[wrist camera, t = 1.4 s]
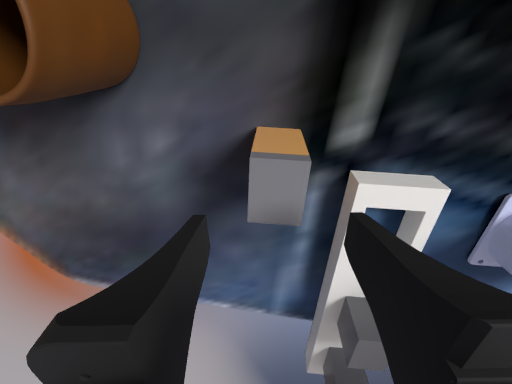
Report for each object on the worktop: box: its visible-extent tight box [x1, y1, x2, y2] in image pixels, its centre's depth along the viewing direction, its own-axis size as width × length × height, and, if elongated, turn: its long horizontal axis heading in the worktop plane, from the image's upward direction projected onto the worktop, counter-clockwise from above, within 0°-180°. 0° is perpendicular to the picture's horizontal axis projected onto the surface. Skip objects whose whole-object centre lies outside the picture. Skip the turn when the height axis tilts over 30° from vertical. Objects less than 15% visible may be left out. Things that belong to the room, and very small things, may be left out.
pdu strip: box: [305, 170, 451, 384], centre depth 25 cm, size 7×28×7 cm, turn 177°
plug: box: [247, 127, 311, 226], centre depth 18 cm, size 4×4×7 cm
